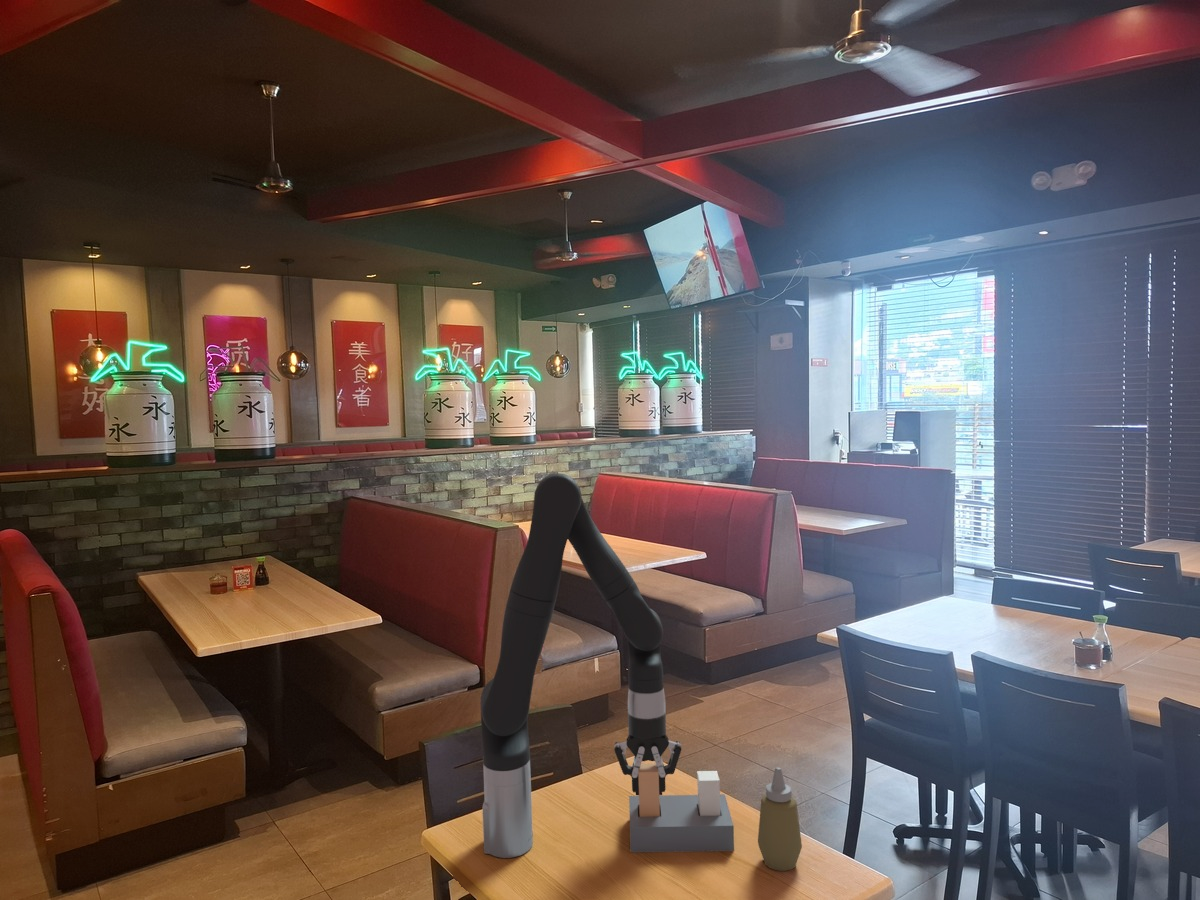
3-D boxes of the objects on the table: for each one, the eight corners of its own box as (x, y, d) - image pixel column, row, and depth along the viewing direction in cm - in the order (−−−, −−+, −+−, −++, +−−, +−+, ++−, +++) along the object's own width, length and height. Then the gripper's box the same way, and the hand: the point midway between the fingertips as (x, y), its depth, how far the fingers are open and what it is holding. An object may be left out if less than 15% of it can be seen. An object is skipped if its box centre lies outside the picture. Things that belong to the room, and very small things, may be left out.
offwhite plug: (700, 837, 151) (699, 780, 150) (698, 826, 155) (697, 771, 154) (720, 836, 151) (719, 780, 150) (718, 825, 155) (717, 770, 154)
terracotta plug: (640, 828, 151) (638, 772, 150) (639, 818, 155) (637, 763, 154) (660, 828, 151) (658, 772, 150) (659, 817, 155) (657, 762, 154)
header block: (630, 852, 147) (629, 827, 147) (629, 819, 159) (629, 796, 159) (734, 850, 146) (733, 825, 146) (725, 817, 158) (724, 794, 158)
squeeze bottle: (777, 880, 137) (775, 783, 136) (749, 858, 144) (747, 765, 143) (811, 867, 141) (809, 772, 140) (782, 845, 148) (780, 755, 147)
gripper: (610, 717, 148) (613, 803, 149) (683, 716, 148) (685, 802, 149) (611, 703, 156) (613, 784, 156) (680, 701, 155) (682, 783, 156)
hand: (648, 792), depth 153 cm, fingers closed on terracotta plug, 4 cm apart
